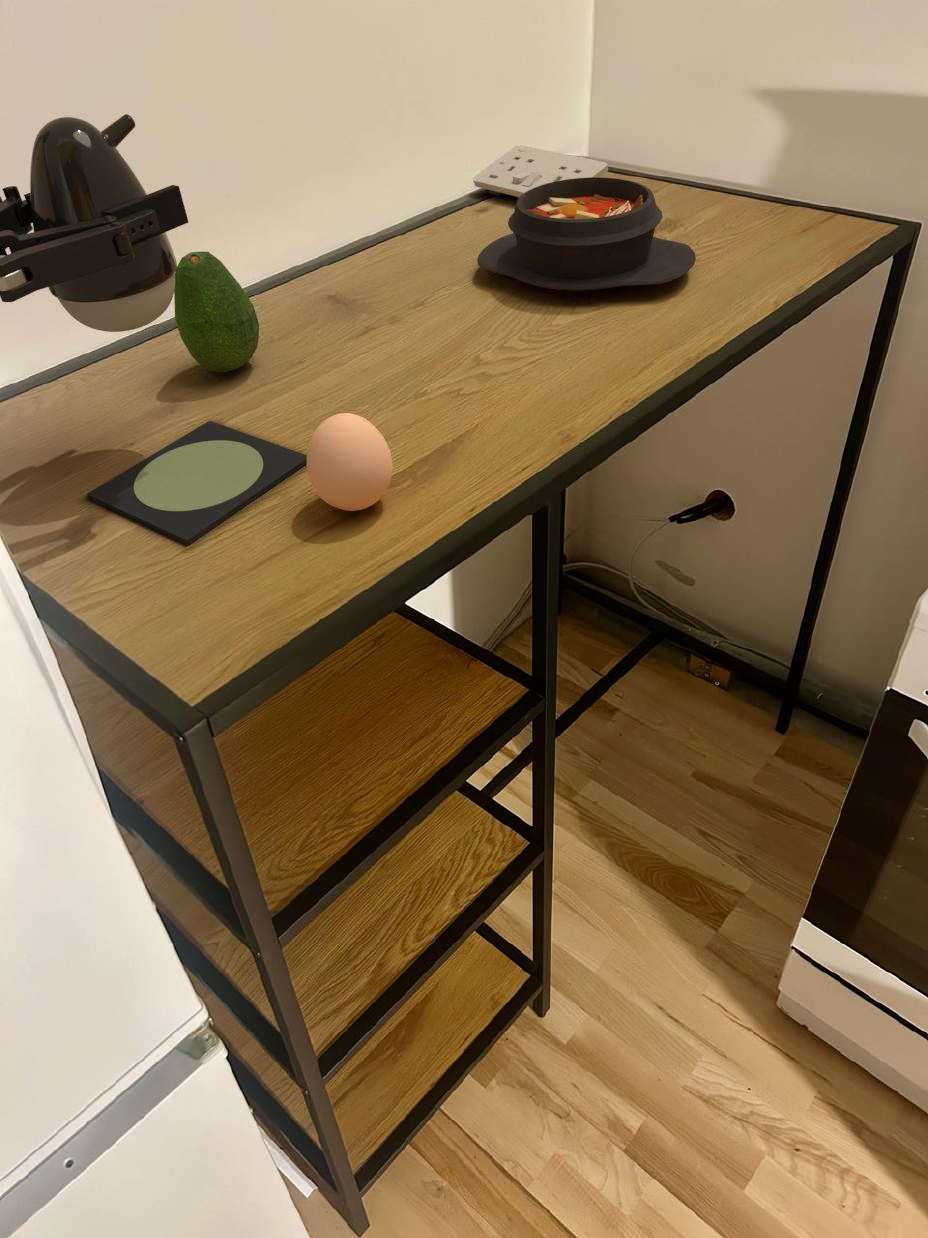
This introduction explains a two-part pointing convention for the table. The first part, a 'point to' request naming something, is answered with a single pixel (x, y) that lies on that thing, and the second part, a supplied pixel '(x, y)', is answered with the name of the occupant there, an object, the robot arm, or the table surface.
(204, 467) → the placemat
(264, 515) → the table surface
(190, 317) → the avocado
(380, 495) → the egg
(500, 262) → the casserole
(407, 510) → the table surface
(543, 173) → the wall socket
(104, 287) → the pump dispenser
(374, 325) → the table surface
